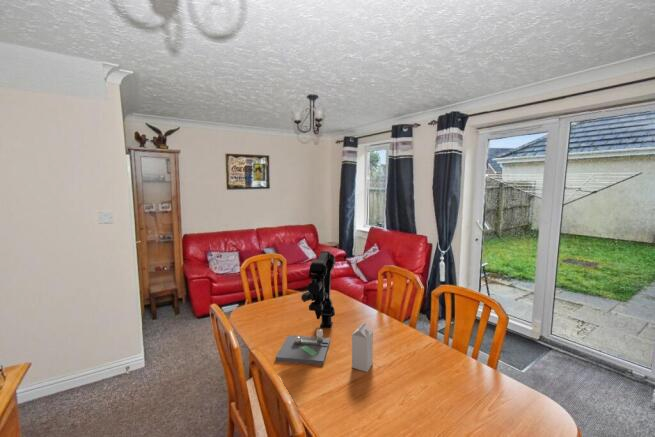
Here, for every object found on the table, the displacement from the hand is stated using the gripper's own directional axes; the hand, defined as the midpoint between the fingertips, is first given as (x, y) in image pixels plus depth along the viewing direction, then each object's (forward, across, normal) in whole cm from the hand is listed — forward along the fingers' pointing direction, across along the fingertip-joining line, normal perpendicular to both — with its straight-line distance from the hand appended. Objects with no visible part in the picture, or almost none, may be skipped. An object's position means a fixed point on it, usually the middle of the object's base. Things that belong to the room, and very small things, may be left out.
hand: (319, 317), depth 151 cm
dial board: (+13, +10, -6) cm, 17 cm away
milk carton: (+13, +18, +22) cm, 31 cm away
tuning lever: (+10, +7, -3) cm, 13 cm away
